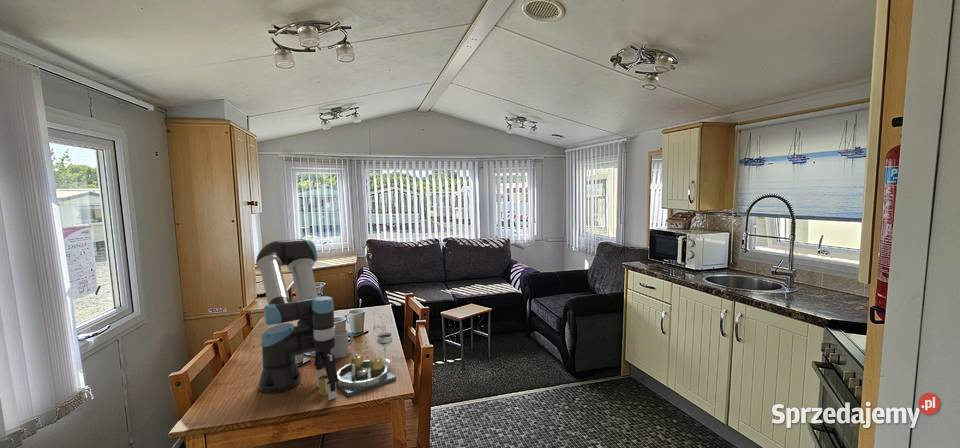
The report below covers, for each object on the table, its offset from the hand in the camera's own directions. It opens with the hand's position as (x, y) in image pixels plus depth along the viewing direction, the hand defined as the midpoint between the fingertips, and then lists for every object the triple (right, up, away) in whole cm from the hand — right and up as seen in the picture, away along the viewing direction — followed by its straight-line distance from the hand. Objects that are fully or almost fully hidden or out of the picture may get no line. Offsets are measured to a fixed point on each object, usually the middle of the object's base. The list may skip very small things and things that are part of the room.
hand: (326, 391), depth 147 cm
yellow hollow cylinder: (0, 0, 0) cm, 0 cm away
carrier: (+11, +1, +10) cm, 15 cm away
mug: (-7, +2, +36) cm, 37 cm away
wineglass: (+16, +2, +28) cm, 32 cm away
